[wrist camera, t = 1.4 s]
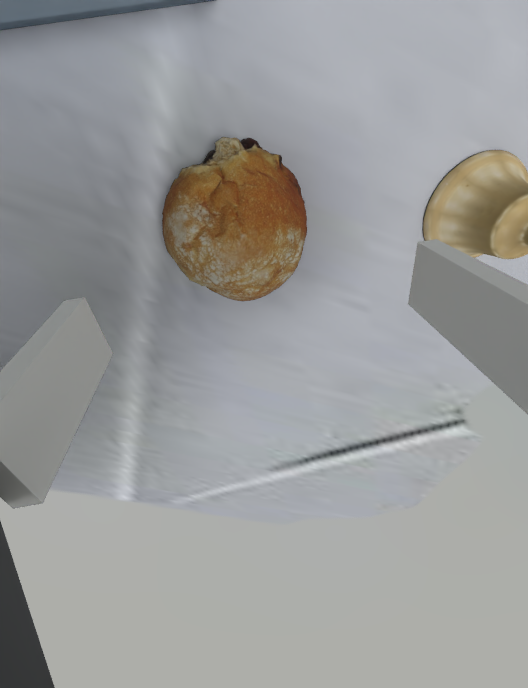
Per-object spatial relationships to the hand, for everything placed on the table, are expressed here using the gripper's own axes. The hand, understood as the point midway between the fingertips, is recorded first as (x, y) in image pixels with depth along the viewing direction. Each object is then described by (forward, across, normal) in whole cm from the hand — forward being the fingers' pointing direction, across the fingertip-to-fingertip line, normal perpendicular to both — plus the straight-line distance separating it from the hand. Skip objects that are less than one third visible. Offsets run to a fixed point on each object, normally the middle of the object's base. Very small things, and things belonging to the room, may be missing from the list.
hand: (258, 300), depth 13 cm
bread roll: (+14, 0, 0) cm, 14 cm away
